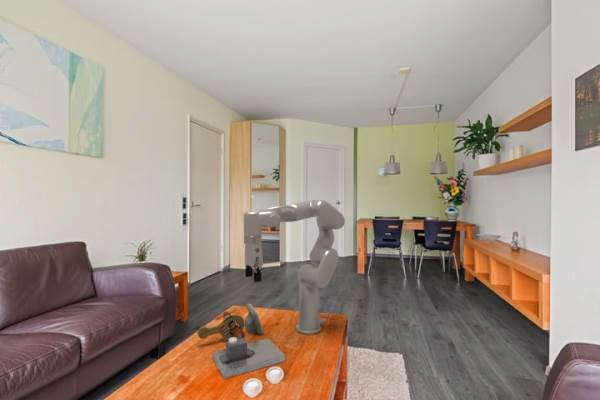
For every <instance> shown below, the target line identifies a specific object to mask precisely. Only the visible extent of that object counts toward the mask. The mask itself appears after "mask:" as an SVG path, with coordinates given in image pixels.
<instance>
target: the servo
mask: <svg viewBox="0 0 600 400" xmlns="http://www.w3.org/2000/svg"><path fill="white" fill-rule="evenodd" d="M244 338H245V337H244ZM244 338H241V339H237V338H236V337H231V338H229V339H228V340H227V341H225V349H226V354H225V355H221V356H219V358H220V360H221V361H222V363H225V362H226V364H229V363H233V362H236V361H240V360H244V359H247V358H250V356H251V355H253V353H252V351H251V350H250V349H249V348H248V349H247V343H248V342H247V341H246V339H244Z"/></svg>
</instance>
